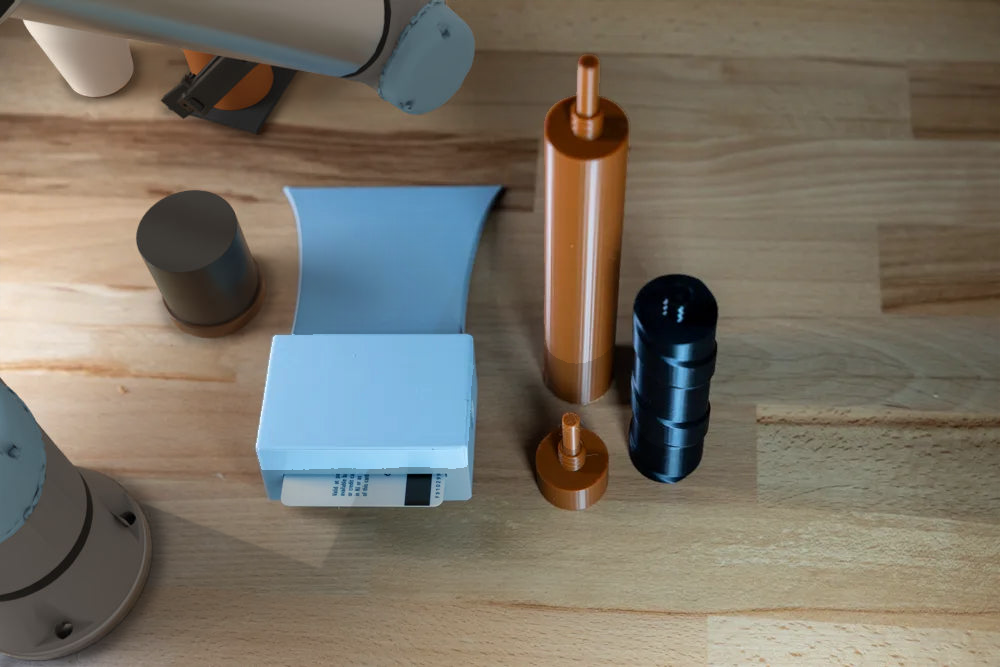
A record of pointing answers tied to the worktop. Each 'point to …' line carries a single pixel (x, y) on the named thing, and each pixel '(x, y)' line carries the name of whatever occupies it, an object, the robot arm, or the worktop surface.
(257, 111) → the mat
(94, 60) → the cup
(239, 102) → the copper cylinder
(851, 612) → the worktop surface
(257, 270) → the dark grey cylinder
